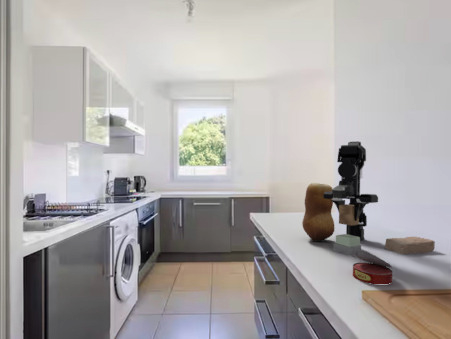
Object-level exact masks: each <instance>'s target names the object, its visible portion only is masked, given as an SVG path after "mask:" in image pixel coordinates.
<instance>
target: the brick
mask: <svg viewBox="0 0 451 339" xmlns="http://www.w3.org/2000/svg"><path fill="white" fill-rule="evenodd" d="M435 244H436V243H435V241H434V240H433V239H430V238H425V237H418V236H406V237H392V238H386V239H385V242H384V249H385V250H387V251H391V252H394V253H398V254H401V255H405V254H406V255H407V254H409V255H410V254H421V253H423V254H424V253H431V252H434V250H435Z"/></svg>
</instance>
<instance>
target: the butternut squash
mask: <svg viewBox="0 0 451 339" xmlns="http://www.w3.org/2000/svg"><path fill="white" fill-rule="evenodd" d="M332 189H333V187H332V186H331V185H329V184H327V183H318V182H312V183H310V184H309V185H307V188H306V190H305V197H304V208H305V209H304V210H305V212H304V213H303V218H302V222H301V225H302V229H303V230H304V232H305V233H306V235H307V236H308V237H309V238H310V240H312V242H319V241H320V242H321V241H325V240H326V239H328V238H330V237H332V235H333V234H335V221H334V218H333V215H332V208H333V204H334V202H332V201H331V200H332V198H331V199H324V198H323V194H324V192H326V191H332Z"/></svg>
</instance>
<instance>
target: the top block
mask: <svg viewBox="0 0 451 339" xmlns="http://www.w3.org/2000/svg"><path fill="white" fill-rule="evenodd" d="M335 243H336V244H340V245H344V246H348V247H353V246H359V245H361V240H360V237H357V236H352V235H348V234H346V233H344V234H337V235H335Z"/></svg>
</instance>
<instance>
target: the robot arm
mask: <svg viewBox="0 0 451 339" xmlns="http://www.w3.org/2000/svg"><path fill="white" fill-rule="evenodd" d="M365 162H367V151H366V148H365V147H364V146H363V145H362V142H361V141H349V142H347V144H342V145H340V147H339V148H338V153H337V163H340V164H339V166H338V167H337V173H338V175H339V176H340V178H341V180H339V182H338V185H336V186H335V187H332V191H326V192H324V194H323V198H324V199H331V198H332V200H331V201H332V202H333V204H334V205H335V206H336V208H337V211H338V213H339V205H344V204H346V200H349V203H347V204H348V205H354V206H355V213H354V219H355V221H357V220H358V218H359V224H358V225H353V226H351V225H345V224H343V225H345V227H346V232H345V234H348V235H352V236H357V237H360V241H361V240H362V241H363V240H365V239H366V238H365V229H364V227H365V228H366V227H367V226H368V224H367V223H368V221H367V220H368V219H367V215H366V212H364V208H365V207H366V205H368V204H374V203H375V204H376V203H378V202H379V197H378V195H377V194H376V193H375V194H374V193H373V194H372V193H361V171H362V169H363V168H364V166H365Z"/></svg>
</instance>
